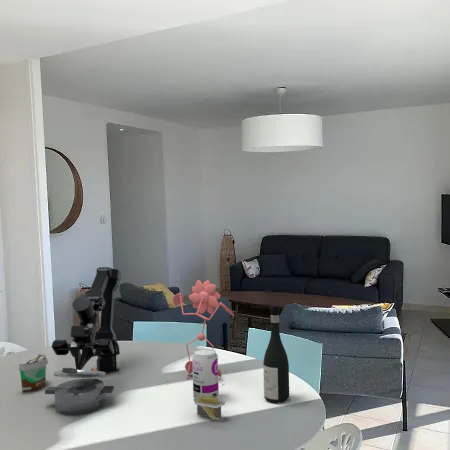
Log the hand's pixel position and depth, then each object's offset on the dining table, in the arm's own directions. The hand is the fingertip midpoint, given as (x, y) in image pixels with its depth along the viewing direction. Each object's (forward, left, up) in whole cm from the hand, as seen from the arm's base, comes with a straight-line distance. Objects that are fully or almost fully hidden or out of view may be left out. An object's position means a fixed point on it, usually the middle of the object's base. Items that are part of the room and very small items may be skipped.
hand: (77, 371), depth 157 cm
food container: (+4, -26, -11) cm, 29 cm away
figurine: (-47, +4, -11) cm, 48 cm away
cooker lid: (0, 0, -1) cm, 1 cm away
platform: (-26, +33, -12) cm, 43 cm away
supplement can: (-34, +21, -11) cm, 41 cm away
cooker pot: (-1, -1, -11) cm, 11 cm away
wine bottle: (-50, +37, -11) cm, 63 cm away
